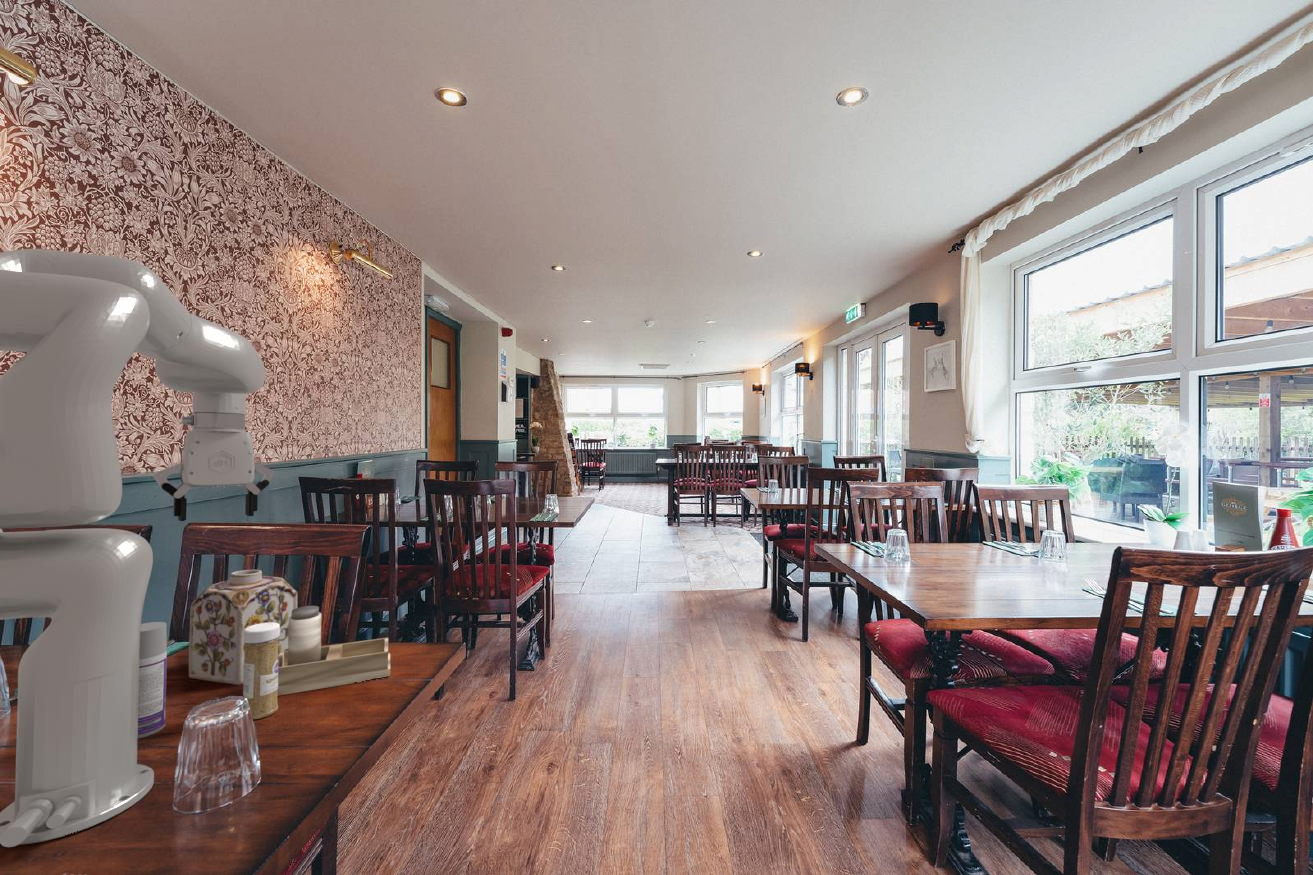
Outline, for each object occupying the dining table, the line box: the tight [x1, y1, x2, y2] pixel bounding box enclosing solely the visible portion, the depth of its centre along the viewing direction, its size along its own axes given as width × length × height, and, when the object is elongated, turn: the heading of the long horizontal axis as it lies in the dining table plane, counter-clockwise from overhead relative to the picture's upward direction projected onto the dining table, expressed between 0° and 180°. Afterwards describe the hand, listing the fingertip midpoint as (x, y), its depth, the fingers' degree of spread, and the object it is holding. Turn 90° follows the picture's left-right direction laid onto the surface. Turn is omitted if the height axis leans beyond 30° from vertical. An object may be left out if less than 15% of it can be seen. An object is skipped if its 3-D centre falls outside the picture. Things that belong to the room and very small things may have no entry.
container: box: [137, 621, 168, 740], centre depth 78 cm, size 5×5×15 cm
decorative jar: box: [188, 569, 298, 686], centre depth 99 cm, size 12×12×18 cm
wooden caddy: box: [277, 605, 391, 697], centre depth 96 cm, size 8×18×13 cm, turn 116°
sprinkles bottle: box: [242, 622, 280, 720], centre depth 83 cm, size 5×5×14 cm
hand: (216, 517), depth 98 cm, fingers open, 9 cm apart
